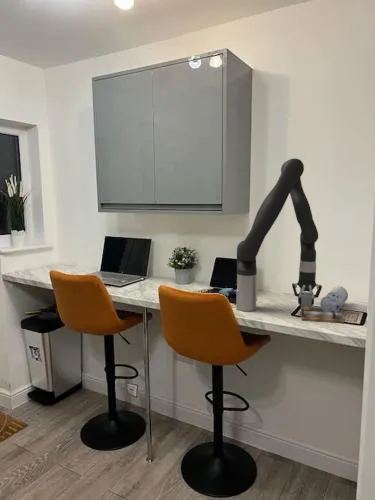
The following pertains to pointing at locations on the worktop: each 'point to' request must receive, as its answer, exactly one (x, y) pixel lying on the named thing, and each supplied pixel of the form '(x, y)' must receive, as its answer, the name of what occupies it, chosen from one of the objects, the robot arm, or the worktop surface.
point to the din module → (306, 301)
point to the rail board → (322, 316)
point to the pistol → (228, 291)
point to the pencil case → (334, 299)
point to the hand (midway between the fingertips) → (305, 305)
